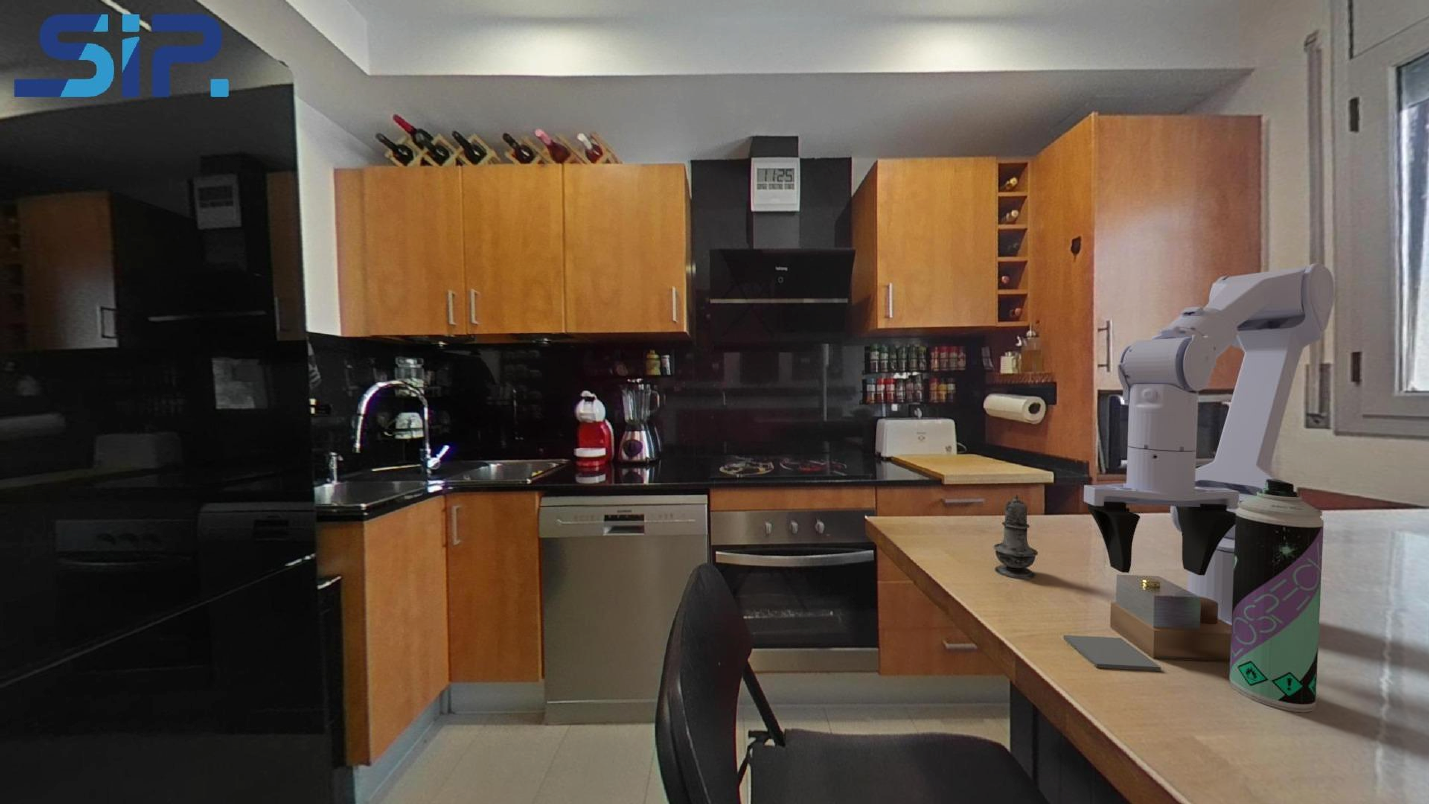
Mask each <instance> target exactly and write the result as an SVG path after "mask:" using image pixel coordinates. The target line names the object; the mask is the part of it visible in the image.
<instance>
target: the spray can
mask: <svg viewBox="0 0 1429 804" xmlns="http://www.w3.org/2000/svg"><path fill="white" fill-rule="evenodd" d="M1265 487H1266V488H1263V489H1262V491H1258V492H1257V496H1254V497H1251V498H1248V499H1246V500H1242V501H1238V506H1239V508H1237V509H1236V519H1235V546H1234V572H1233V598H1232V625H1231V651H1230V662H1229V684H1230V686H1231V687H1232V688H1233V690H1235V691H1236V692H1238V694H1241V695H1243V696H1245V697H1246V698H1248V699H1251V700H1253V701H1256V702H1257V703H1260V704H1263V705H1265V706H1269V707H1272V708H1276V709H1280V710H1284V711H1290V712H1297V713H1308V711H1310V712H1312V711H1314V710H1315V709H1314V708H1316V703H1317V702H1316V700H1317V682H1318V681H1317V678H1318V658H1319V657H1318V656H1319V638H1320V637H1319V635H1320V634H1319V633H1320V618H1321V617H1320V615H1321V613H1320V610H1321V594H1322V593H1321V589H1322V568H1323V566H1322V564H1323V550H1324V549H1323V546H1324V527H1325V526H1324V524H1325V523H1324V522H1325V521H1324V520H1323V519H1322V518H1321V517H1322V516H1323V511H1322V510H1320V509H1317V508H1315V507H1313V506H1312V505H1310V504H1308V503H1307V502H1305V501H1303V500H1302V498H1303V497H1302V495H1299V494H1298V492H1297V491H1295V490H1294V489H1295V488H1294V487H1295V486H1294V484H1293V483H1291V482H1290V483H1289V482H1287V481H1284V480H1281V479H1279V480H1276V479H1267V480H1266V483H1265Z"/></svg>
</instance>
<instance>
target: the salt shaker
mask: <svg viewBox="0 0 1429 804" xmlns="http://www.w3.org/2000/svg"><path fill="white" fill-rule="evenodd" d="M1019 498H1020V496H1019V495H1018V494H1015V495H1014V496H1013V499H1012V500H1009V501H1007V502H1006V503H1005V507H1004V511H1005V513H1004V514H1005V515H1004V521H1002V522H1001V524H1002V525H1003V526H1004V528H1003V529H1004V530H1003V531H1004V532H1003V533H1004V534H1003V539H1002V542H1000V543H995V544H994V545H993V547H992V548H993V549H994V550H995V555H996V558H997V560H998V561H999V562H1000V563H1001V564H1000V565H997V566H996V567H995V568H994V571H995V572H996V573H997V574H999V575H1002V576H1004V577H1007V578H1012V579H1018V580H1031V579H1034V578H1035V577H1036V574H1035V572H1033V571H1032V570H1031V569H1029V567H1031V566H1032V565H1033V564H1034V562H1035V561H1036V557H1037V555H1038V553H1039V552H1038V550H1037V549H1036V548H1033V547H1030V546H1029V542H1028V529H1030V524H1028V517H1027V516H1028V506H1027V504H1026V503H1025V502H1024V501H1021V500H1020V499H1019Z"/></svg>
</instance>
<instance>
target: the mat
mask: <svg viewBox="0 0 1429 804" xmlns="http://www.w3.org/2000/svg"><path fill="white" fill-rule="evenodd" d="M1063 639H1064V640H1065V641H1066V642H1067V643H1068V644H1069V645H1070V644H1071V645H1072V646H1071V645H1070V646H1071V647H1073V648H1074V649H1075V648H1076V649H1075V650H1076V651H1077V650H1078V651H1077V652H1078V653H1079V652H1080V653H1079V654H1081V656H1083V657H1084V659H1086V658H1087V659H1088V660H1089V661H1088V660H1087V659H1086V660H1087V661H1088V662H1090V663H1091V662H1092V663H1091V664H1092V665H1093V664H1094V665H1095V666H1094V665H1093V666H1094V667H1095V668H1096V667H1098V669H1118V670H1119V669H1120V670H1133V671H1134V670H1135V671H1141V670H1142V671H1154V672H1158V671H1159V672H1161V671H1162V669H1161V668H1162V667H1161V666H1160V665H1158V664H1157V663H1156V662H1155V661H1154V660H1152V659H1151V658H1149V657H1148V656H1147V655H1145V654H1143V653H1142V652H1141V651H1139V650H1138V649H1137V648H1135V647H1134V646H1132V645H1131V644H1130V642H1127V641H1126V640H1125V639H1124V638H1122V637H1111V636H1108V637H1106V636H1091V635H1090V636H1089V635H1069V634H1068V635H1067V634H1063Z"/></svg>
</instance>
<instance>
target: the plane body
mask: <svg viewBox="0 0 1429 804" xmlns="http://www.w3.org/2000/svg"><path fill="white" fill-rule="evenodd" d="M1199 597H1200V596H1199ZM1109 616H1110V618H1109V619H1110V620H1109V622H1110V623H1109V624H1110V625H1109V628H1111V629H1112V630H1114V631H1115V632H1116V633H1118V634H1119V635H1120V636H1122V637H1123V639H1124V638H1125V639H1126V640H1127V641H1128V642H1129V643H1132V644H1133V645H1135V647H1137V648H1138V649H1140V650H1141V651H1143V652H1144V653H1145V654H1146V655H1148V656H1149V657H1151V658H1153V659H1158V660H1162V659H1163V660H1178V661H1179V660H1180V661H1198V662H1199V661H1200V662H1201V661H1202V662H1214V663H1215V662H1218V663H1230V651H1231V625H1230V624H1228V623H1226V622H1224V621H1222V620H1220V619H1219V618H1218V603H1217V602H1215V601H1213V600H1211V599H1208V598H1204V597H1201V612H1200V630H1183V629H1161V628H1152V627H1151V626H1149V625H1148V624H1146V623H1144V622H1143V621H1141V620H1140V619H1138V618H1137V617H1135V616H1134V615H1132V614H1131V613H1129V612H1127V611H1126V610H1124V609H1123V608H1121V607H1120V606H1118V605H1117V604H1116V601H1110V615H1109Z"/></svg>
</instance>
